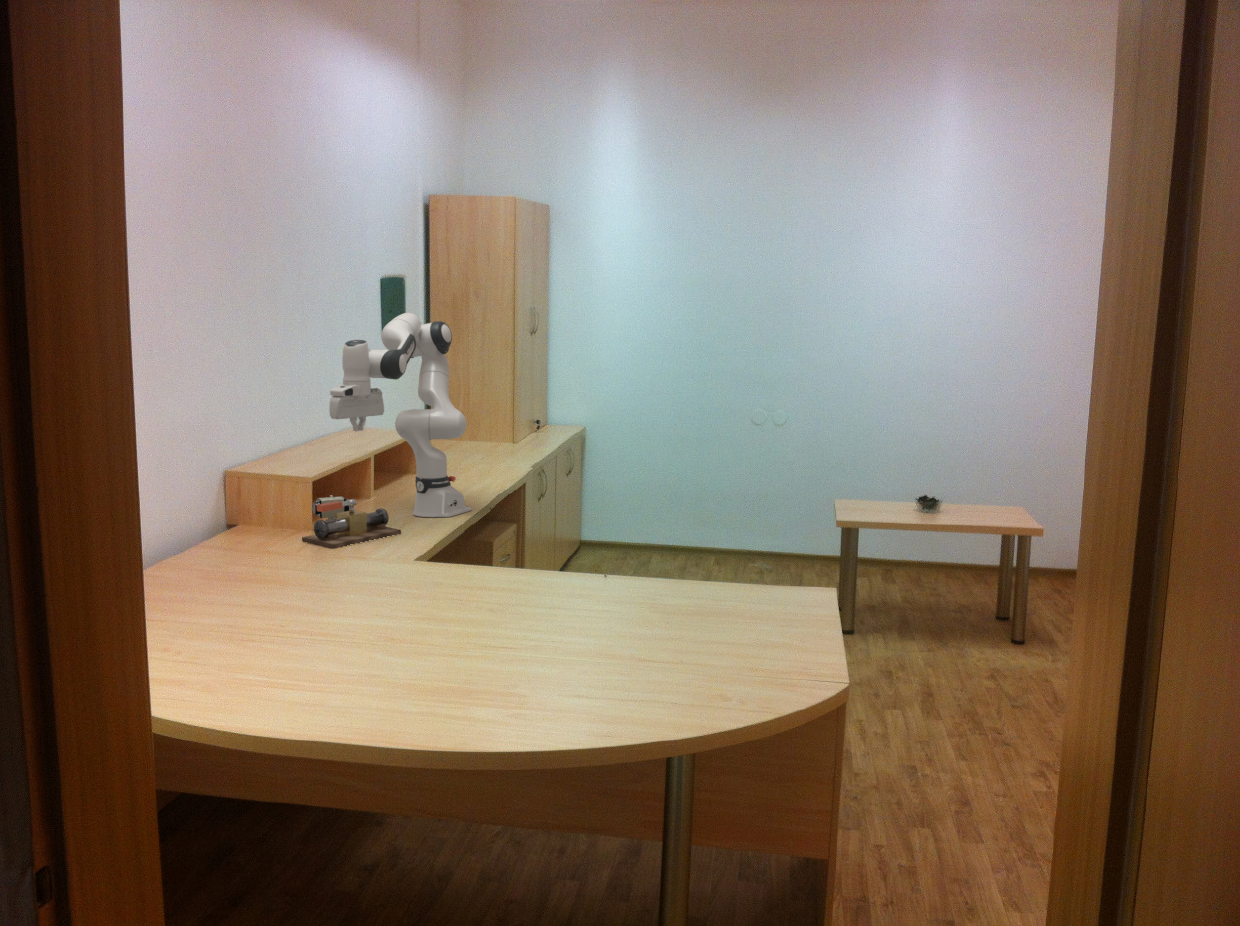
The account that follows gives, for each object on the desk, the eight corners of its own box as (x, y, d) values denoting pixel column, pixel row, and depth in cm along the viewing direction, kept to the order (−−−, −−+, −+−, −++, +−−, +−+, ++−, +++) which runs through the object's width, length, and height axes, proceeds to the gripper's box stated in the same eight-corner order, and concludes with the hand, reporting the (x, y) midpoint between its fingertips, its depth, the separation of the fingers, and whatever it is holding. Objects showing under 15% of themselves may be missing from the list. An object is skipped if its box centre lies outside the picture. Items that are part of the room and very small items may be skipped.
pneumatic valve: (350, 529, 356) (349, 495, 355) (316, 532, 351) (315, 497, 349) (347, 526, 361) (346, 492, 360) (313, 529, 356) (311, 494, 354)
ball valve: (376, 525, 356) (376, 499, 354) (389, 528, 352) (388, 501, 350) (313, 538, 335) (312, 510, 334) (326, 541, 331) (325, 513, 330)
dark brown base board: (370, 527, 359) (369, 518, 359) (401, 534, 350) (400, 525, 349) (302, 541, 337) (301, 532, 337) (333, 548, 328) (332, 539, 327)
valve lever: (352, 504, 344) (351, 498, 344) (358, 505, 342) (357, 499, 342) (316, 510, 332) (316, 504, 332) (322, 512, 331) (322, 505, 330)
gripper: (375, 387, 353) (376, 427, 355) (325, 390, 337) (327, 432, 339) (387, 388, 349) (388, 428, 351) (338, 391, 333) (339, 434, 335)
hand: (358, 430), depth 345 cm, fingers closed
